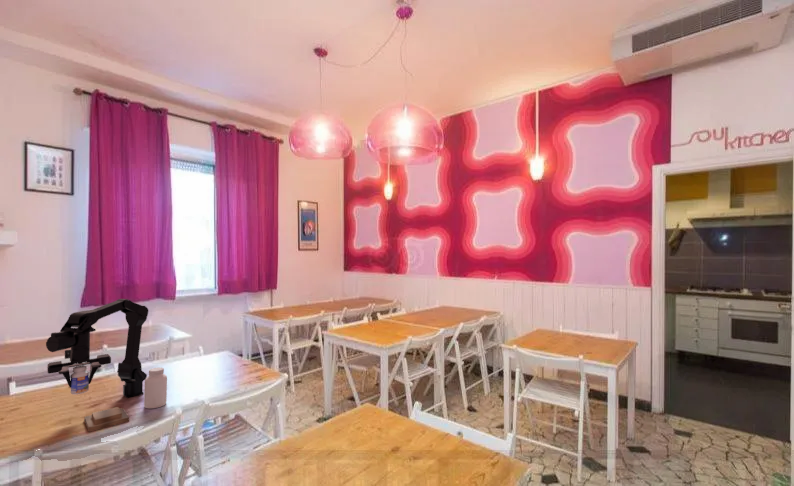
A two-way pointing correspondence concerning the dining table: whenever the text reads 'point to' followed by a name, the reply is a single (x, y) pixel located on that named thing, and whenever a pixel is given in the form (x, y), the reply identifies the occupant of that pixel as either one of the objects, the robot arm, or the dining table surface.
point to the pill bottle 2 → (155, 388)
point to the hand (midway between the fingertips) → (79, 385)
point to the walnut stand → (106, 418)
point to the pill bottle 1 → (79, 380)
